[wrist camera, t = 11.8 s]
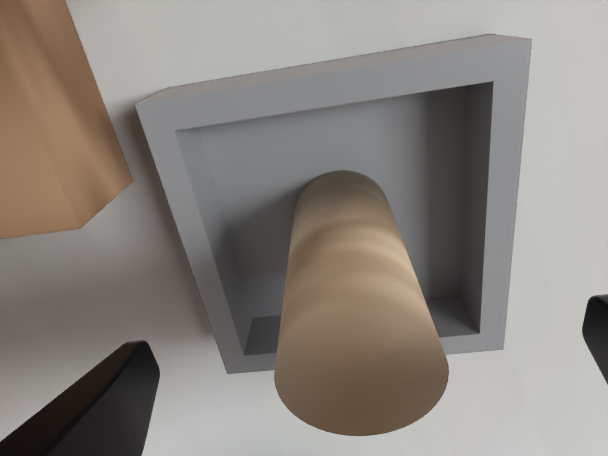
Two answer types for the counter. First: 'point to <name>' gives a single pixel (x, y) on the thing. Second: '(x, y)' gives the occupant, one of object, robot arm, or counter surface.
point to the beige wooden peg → (354, 315)
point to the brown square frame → (51, 125)
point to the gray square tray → (354, 157)
